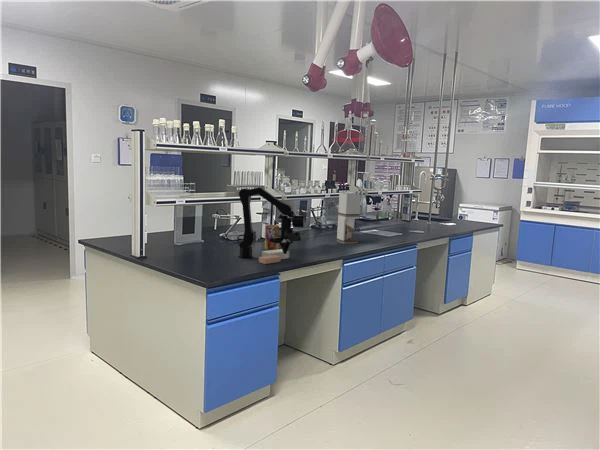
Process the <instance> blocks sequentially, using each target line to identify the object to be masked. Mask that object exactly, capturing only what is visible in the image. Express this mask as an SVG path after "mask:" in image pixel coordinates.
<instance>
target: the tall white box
mask: <svg viewBox="0 0 600 450" xmlns="http://www.w3.org/2000/svg"><path fill="white" fill-rule="evenodd" d="M338 196H339V197H338V213H337V214H338V215H337V231H336V232H337V233H336V242H337V243H340V244H343V245H349V244H350V245H351V244H358V243H359V240H357V239H356V238H352V232H353V231H354V230H355V228H354V227H355V220H356V219H357V220H359V219H360V217H361V216H360V215H361V214H360V213H361V199H362V194H354V193H352V192H351V193H344V192H343V193H342V192H340V193H339V194H338Z"/></svg>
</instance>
